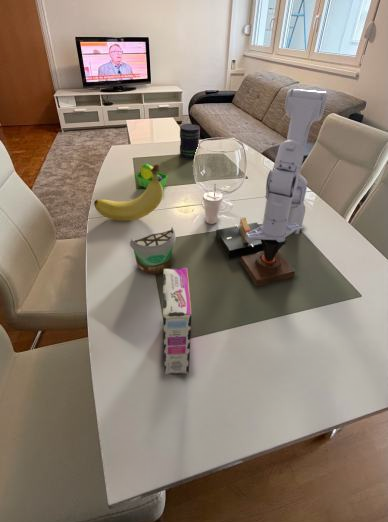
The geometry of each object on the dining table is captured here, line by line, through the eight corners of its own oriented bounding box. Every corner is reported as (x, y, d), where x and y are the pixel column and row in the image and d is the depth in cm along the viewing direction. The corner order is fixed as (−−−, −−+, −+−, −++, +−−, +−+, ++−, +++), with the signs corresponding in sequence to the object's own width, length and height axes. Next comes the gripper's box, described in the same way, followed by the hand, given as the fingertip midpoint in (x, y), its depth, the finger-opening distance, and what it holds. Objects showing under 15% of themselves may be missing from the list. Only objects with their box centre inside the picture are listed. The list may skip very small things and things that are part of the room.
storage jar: (177, 158, 148) (177, 129, 141) (181, 151, 156) (181, 123, 149) (197, 160, 146) (198, 130, 139) (200, 152, 155) (201, 124, 148)
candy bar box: (190, 374, 56) (192, 315, 48) (164, 376, 56) (161, 316, 48) (187, 322, 66) (187, 266, 58) (164, 323, 66) (162, 267, 58)
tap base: (254, 228, 97) (256, 220, 96) (273, 250, 88) (274, 242, 86) (215, 236, 93) (215, 228, 92) (229, 260, 84) (230, 251, 82)
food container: (139, 284, 75) (136, 253, 71) (132, 268, 80) (129, 238, 75) (183, 268, 81) (183, 239, 76) (174, 254, 85) (173, 226, 81)
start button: (270, 257, 82) (270, 252, 81) (277, 266, 79) (278, 261, 78) (258, 259, 81) (259, 254, 80) (265, 269, 78) (266, 264, 77)
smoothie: (219, 227, 97) (222, 190, 91) (200, 224, 99) (201, 187, 92) (221, 216, 103) (224, 180, 96) (203, 214, 104) (205, 178, 98)
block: (275, 255, 86) (277, 244, 84) (293, 277, 79) (296, 265, 77) (240, 262, 83) (242, 251, 81) (256, 286, 75) (258, 275, 74)
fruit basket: (169, 186, 121) (168, 161, 116) (155, 195, 115) (154, 169, 110) (147, 179, 127) (146, 154, 121) (133, 187, 120) (130, 161, 115)
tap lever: (239, 228, 92) (240, 216, 90) (244, 228, 92) (245, 216, 90) (243, 242, 86) (245, 230, 84) (249, 242, 86) (251, 230, 84)
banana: (94, 223, 98) (85, 168, 89) (98, 213, 103) (90, 160, 94) (163, 223, 99) (161, 168, 89) (164, 213, 104) (162, 161, 95)
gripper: (257, 229, 67) (251, 274, 73) (311, 219, 71) (300, 262, 77) (243, 213, 73) (238, 256, 79) (294, 204, 77) (285, 245, 83)
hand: (268, 258), depth 79 cm, fingers closed, pressing on start button
